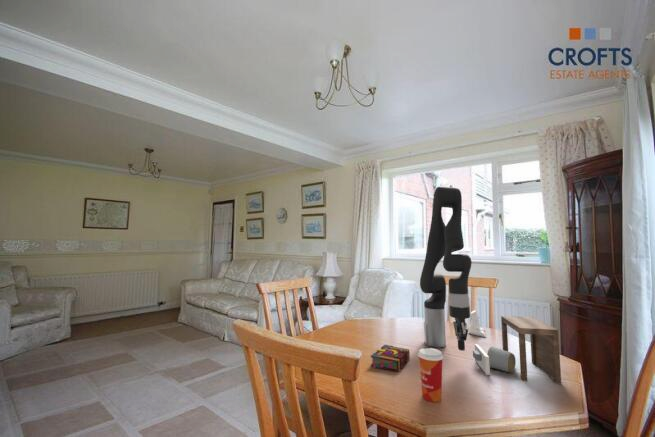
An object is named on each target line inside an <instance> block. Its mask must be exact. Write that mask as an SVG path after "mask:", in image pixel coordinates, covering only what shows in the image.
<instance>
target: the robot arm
mask: <svg viewBox="0 0 655 437" xmlns="http://www.w3.org/2000/svg"><path fill="white" fill-rule="evenodd" d="M432 198H433V200H432V201H433V202H432V210H431V222H430V225H429V226H430V227H429V232H428V233H429V234H428V238H427V244H426V253H425V258H424V263H423V267H422V270H421V274H420V278H419V279H420V280H419V287H420V290H421V292H422V293H424V294H432V295H431V296H430V297H429V298H427V299H425V300H424V302H423V306H424V308H423V309H424V311H423V312H424V322H423V325H424V326H423V331H424V343H425V346H428V347H431V348H433V347H434V348H444V347H446V345H447V340H446V337H447V336H446V335H447V334H446V314H445V313H446V312H445V311H446V309H445V308H446V307H445V305H446V301H447V282H446V279H445V277H444V275H443V274H442V273H435V271H436V268H437V266H438V264H439V263H440V262H441V260H442V266H443V269H444V270H445V271H446V272H450V273H451V272H452V273H455V272H456V273H457V272H458V273H460V275H459V276H456V277H451V278H449V279H448V306H449V307H448V310H449V312H448V313H449V316H450V317H451V318H453V319H454V320H453V322H452V323H453V327H454V335H455V337H456V339H457V349H458V350H459V351H464V352H465V350H466V348H465V347H466V346H465V341H467V338H468V334H469V331H468V323H467V322H466V319H470V318H471V316H470V313H471V309H470V308H471V306H470V296H469V283H468V282H469V276H470V272H471V269H472V258H471V257H470V256H469V255H468V254H465V253H456V254H455V252H459V251H461V250H463V249H464V247H465V246H464V244H465V243H464V237H463V236H464V235H463V229H462V217H463V216H462V212H463V211H462V209H463V208H462V203H463V198H462V192H461V190H460V188H457V187H451V186H450V187H449V186H437V187H436V188H435V190H434V192H433V197H432ZM443 208H447V209H448V208H449V209H452V214H451V217H450V219H448V221H447V224H445V222H444V220H443V213H442V209H443Z"/></svg>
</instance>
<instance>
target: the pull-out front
mask: <svg viewBox="0 0 655 437" xmlns="http://www.w3.org/2000/svg"><path fill="white" fill-rule="evenodd" d="M472 357H473V358H474V360H475V362H476V364H478V365H479V367H480V369H481V370H482V371H483V373H485V375H486V376H490V375H491V372H490V371H491V370H490V369H491V367H490V365H489V356H488V355H487V353H486V351H485V350H484V349H483V348H482V347H481V345H479V344H478V343H474V350H472Z"/></svg>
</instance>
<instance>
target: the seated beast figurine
mask: <svg viewBox="0 0 655 437" xmlns="http://www.w3.org/2000/svg"><path fill="white" fill-rule="evenodd" d="M470 318H471V320H470V324H469V325H468V326H467V329H468V334H471V335H473V336H477V337H482V338H486V336H487V332H486V328H485V329H484V328H483V327H482V326H481V324H480V315H479V314H478V313H477V310H472V311H470Z"/></svg>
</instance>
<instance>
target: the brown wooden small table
mask: <svg viewBox="0 0 655 437" xmlns="http://www.w3.org/2000/svg"><path fill="white" fill-rule="evenodd" d="M500 318H501V319H500V322H501V337H502V338H501V341H502V342H501V344H502V350H505V351H508V352H509V342H508V340H509V339H508V327H510V328H511V329H513V330H514V331H515V332H517V333H518V344H519V345H518V347H519V348H518V349H519V364H520V365H519V368H520V369H519V370H520V379H521V380H522V381H523V382H524V381H525V382H528V368H527V367H528V365H527V363H528V362H527V348H526V346H527V344H526V335H530V338H529V339H530V351H531V352H530V353H531V357H530V358H531V363H532V364H533V365H536V366H537V365H538V366H537V367H539V368H540V369H541V370H542V369H543V370H542V371H544V372H545V373H546V374H547V375H548V376H550V377H551V378H552V379H553V381H554V382H555V384H562V373H561V356H560V342H559V341H560V340H559V329H557V328H555V327H554V326H551V325H549V324H548V323H545V322H543V321H542V320H540V319H538V318H536V317H534V316H533V317H532V316H517V315H516V316H515V315H514V316H513V315H510V316H509V315H501V316H500Z"/></svg>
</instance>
